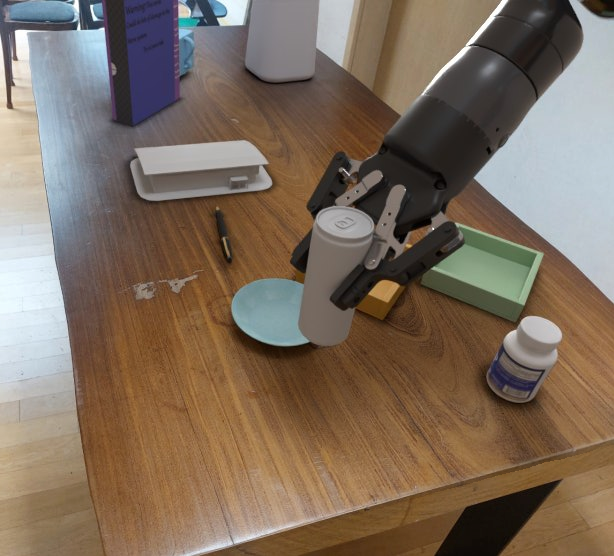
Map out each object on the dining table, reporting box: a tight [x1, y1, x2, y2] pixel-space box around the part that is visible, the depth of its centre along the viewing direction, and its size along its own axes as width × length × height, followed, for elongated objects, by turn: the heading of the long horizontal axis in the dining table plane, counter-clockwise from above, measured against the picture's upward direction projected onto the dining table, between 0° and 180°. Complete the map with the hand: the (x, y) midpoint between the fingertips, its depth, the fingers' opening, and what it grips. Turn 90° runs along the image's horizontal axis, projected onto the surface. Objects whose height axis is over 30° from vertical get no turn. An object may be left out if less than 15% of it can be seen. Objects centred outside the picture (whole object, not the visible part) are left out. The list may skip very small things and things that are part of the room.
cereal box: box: [101, 0, 181, 127], centre depth 106 cm, size 17×5×24 cm, turn 153°
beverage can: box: [298, 206, 375, 347], centre depth 46 cm, size 5×5×12 cm
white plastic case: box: [129, 139, 273, 202], centre depth 93 cm, size 15×23×4 cm, turn 107°
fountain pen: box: [215, 206, 233, 262], centre depth 79 cm, size 14×1×2 cm, turn 10°
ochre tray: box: [294, 242, 413, 321], centre depth 74 cm, size 13×14×3 cm
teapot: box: [179, 27, 196, 77], centre depth 126 cm, size 16×18×11 cm
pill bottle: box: [486, 315, 563, 404], centre depth 58 cm, size 5×5×9 cm
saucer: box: [230, 277, 311, 347], centre depth 65 cm, size 12×12×2 cm
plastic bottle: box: [244, 0, 320, 84], centre depth 127 cm, size 15×15×28 cm
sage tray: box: [419, 222, 545, 323], centre depth 75 cm, size 13×14×3 cm
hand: (316, 285), depth 45 cm, fingers closed on beverage can, 5 cm apart
